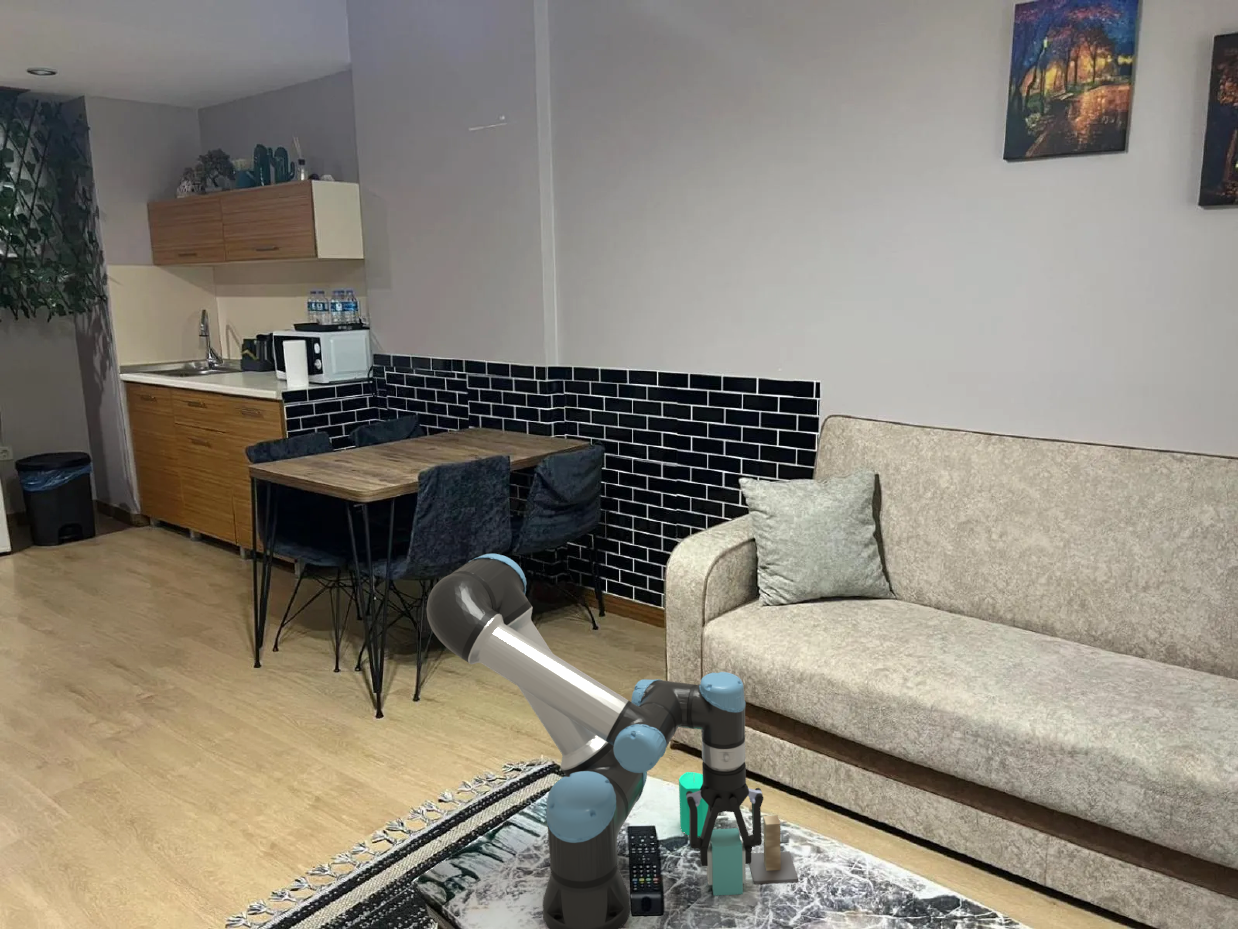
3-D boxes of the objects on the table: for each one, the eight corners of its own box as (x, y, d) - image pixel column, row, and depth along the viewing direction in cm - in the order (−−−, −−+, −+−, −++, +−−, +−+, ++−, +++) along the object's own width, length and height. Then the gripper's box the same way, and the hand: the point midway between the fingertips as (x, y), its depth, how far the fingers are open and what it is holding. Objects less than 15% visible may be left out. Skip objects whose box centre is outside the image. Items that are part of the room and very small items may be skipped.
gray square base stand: (754, 884, 165) (753, 834, 163) (747, 856, 173) (746, 808, 170) (798, 882, 165) (798, 832, 163) (789, 854, 173) (789, 806, 171)
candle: (675, 824, 184) (673, 769, 181) (701, 816, 186) (699, 762, 183) (689, 840, 178) (688, 784, 176) (716, 831, 181) (715, 776, 178)
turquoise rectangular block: (713, 895, 162) (712, 847, 160) (710, 876, 167) (709, 829, 165) (742, 894, 162) (742, 846, 160) (738, 875, 167) (737, 828, 165)
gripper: (673, 775, 156) (676, 895, 161) (780, 770, 156) (780, 890, 161) (670, 752, 163) (673, 868, 168) (772, 747, 163) (773, 863, 168)
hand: (726, 879), depth 164 cm, fingers closed on turquoise rectangular block, 5 cm apart
